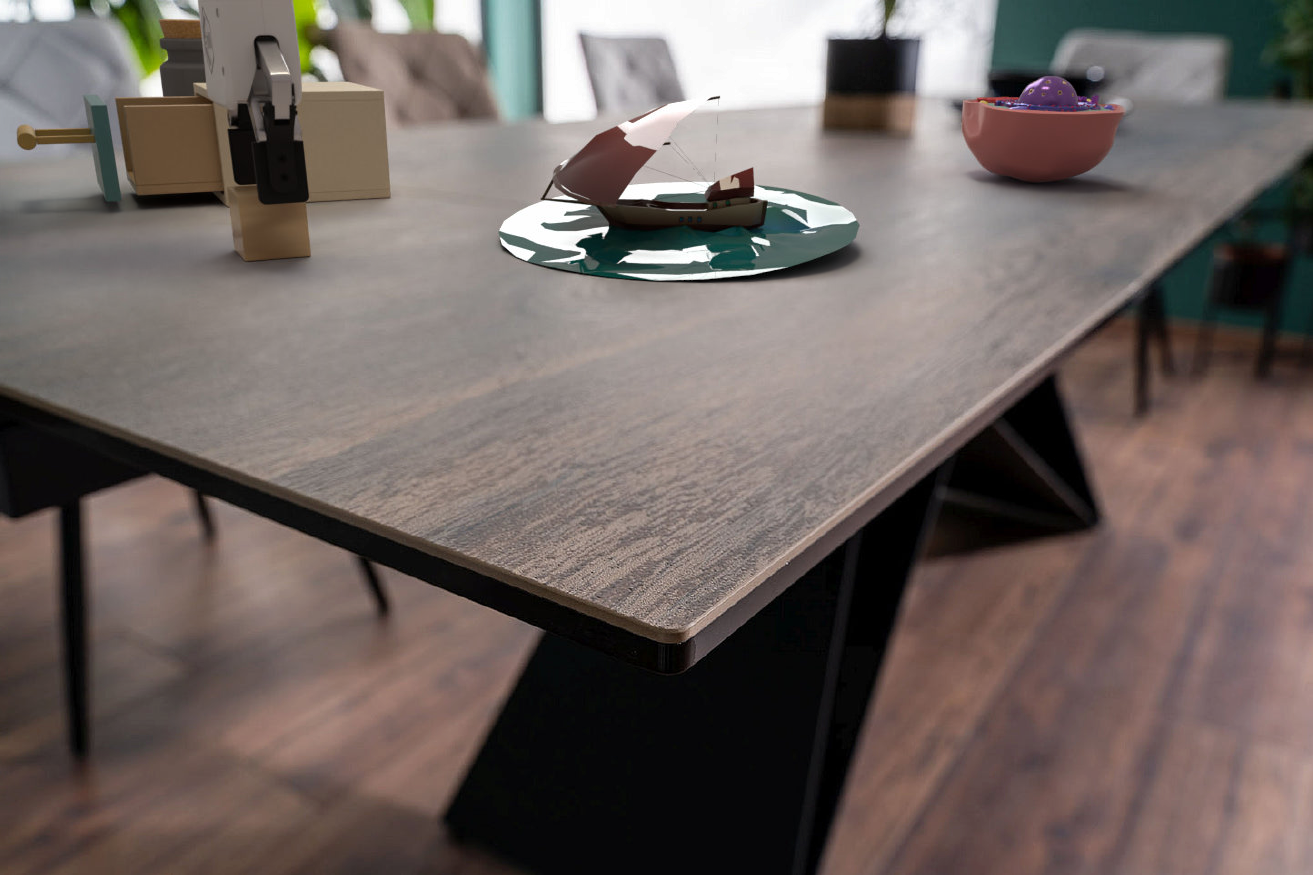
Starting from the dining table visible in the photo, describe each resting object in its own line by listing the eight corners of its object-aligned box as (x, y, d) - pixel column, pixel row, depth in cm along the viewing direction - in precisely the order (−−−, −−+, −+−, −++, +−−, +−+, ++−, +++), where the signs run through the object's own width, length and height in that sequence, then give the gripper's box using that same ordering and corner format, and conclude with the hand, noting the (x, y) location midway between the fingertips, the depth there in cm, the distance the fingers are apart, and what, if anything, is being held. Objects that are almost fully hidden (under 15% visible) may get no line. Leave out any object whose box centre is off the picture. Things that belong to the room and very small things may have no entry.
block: (245, 261, 75) (237, 196, 73) (234, 249, 79) (226, 186, 77) (311, 256, 77) (305, 192, 75) (297, 244, 81) (291, 183, 79)
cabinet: (227, 206, 95) (213, 92, 91) (206, 186, 105) (192, 82, 101) (390, 197, 101) (383, 90, 98) (356, 178, 112) (348, 81, 108)
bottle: (232, 175, 112) (214, 20, 107) (171, 176, 110) (150, 19, 105) (233, 167, 117) (216, 19, 112) (175, 168, 116) (154, 18, 110)
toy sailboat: (504, 209, 97) (493, 79, 92) (811, 193, 99) (815, 66, 94) (494, 312, 72) (478, 142, 67) (905, 288, 74) (918, 121, 69)
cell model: (1096, 172, 130) (1113, 73, 126) (1124, 197, 112) (1144, 82, 108) (952, 164, 134) (963, 68, 129) (956, 187, 115) (970, 76, 111)
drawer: (28, 206, 88) (9, 106, 85) (27, 186, 97) (10, 95, 94) (272, 192, 97) (263, 102, 94) (250, 175, 106) (240, 92, 103)
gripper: (161, -69, 75) (197, 180, 82) (194, -87, 61) (234, 216, 67) (272, -65, 79) (298, 174, 85) (328, -81, 65) (355, 207, 71)
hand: (270, 192), depth 76 cm, fingers open, 9 cm apart
